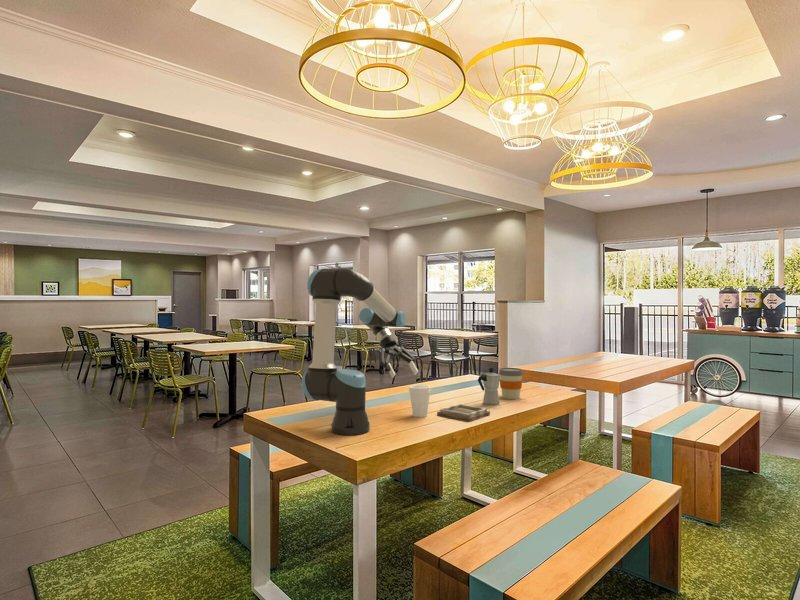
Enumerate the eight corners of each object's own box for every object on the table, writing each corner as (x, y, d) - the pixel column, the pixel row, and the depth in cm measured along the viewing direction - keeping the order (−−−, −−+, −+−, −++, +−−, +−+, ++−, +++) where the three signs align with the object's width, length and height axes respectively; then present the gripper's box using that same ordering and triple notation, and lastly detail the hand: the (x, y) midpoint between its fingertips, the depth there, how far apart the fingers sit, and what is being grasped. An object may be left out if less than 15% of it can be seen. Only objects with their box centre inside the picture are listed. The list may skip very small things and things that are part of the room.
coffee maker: (494, 400, 237) (494, 365, 238) (506, 403, 230) (506, 367, 230) (472, 403, 230) (472, 367, 230) (484, 407, 222) (484, 370, 222)
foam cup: (405, 416, 203) (405, 387, 203) (414, 412, 211) (414, 384, 211) (425, 419, 198) (425, 389, 198) (433, 414, 206) (433, 385, 207)
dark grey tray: (469, 421, 194) (469, 415, 194) (437, 415, 205) (437, 409, 205) (489, 414, 206) (490, 408, 206) (458, 409, 218) (458, 403, 218)
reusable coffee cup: (494, 396, 246) (494, 369, 247) (507, 393, 255) (507, 367, 255) (514, 400, 237) (514, 371, 237) (527, 397, 246) (527, 369, 246)
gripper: (402, 343, 235) (421, 376, 223) (362, 346, 220) (380, 382, 208) (409, 334, 231) (429, 367, 219) (368, 336, 215) (387, 372, 204)
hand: (405, 374), depth 213 cm, fingers open, 13 cm apart
